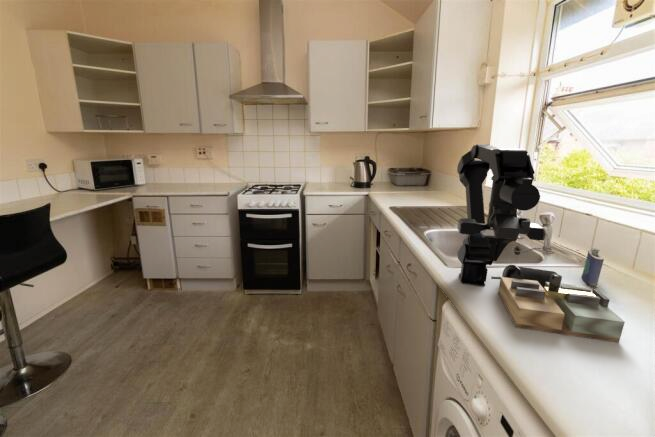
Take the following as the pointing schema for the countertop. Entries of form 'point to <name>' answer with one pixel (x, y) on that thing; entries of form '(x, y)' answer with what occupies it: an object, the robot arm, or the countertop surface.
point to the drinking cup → (527, 274)
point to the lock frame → (560, 310)
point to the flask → (592, 267)
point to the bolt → (556, 292)
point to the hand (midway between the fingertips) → (494, 260)
